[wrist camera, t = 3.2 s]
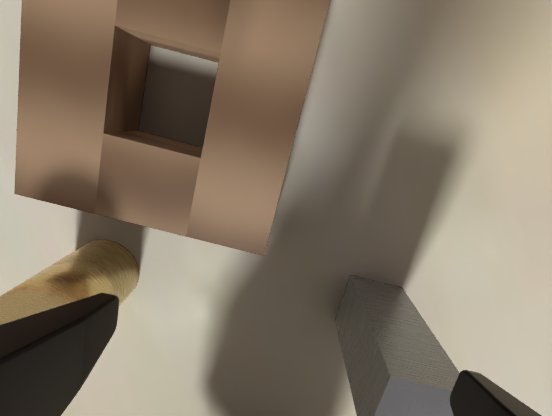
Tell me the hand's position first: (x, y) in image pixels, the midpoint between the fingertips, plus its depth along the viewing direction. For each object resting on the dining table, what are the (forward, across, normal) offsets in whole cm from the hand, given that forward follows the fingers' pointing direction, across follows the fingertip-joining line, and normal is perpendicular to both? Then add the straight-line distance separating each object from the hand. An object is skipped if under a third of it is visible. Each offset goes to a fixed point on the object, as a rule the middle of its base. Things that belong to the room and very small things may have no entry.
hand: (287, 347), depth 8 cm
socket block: (+11, +7, -6) cm, 14 cm away
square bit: (+11, -6, +4) cm, 13 cm away
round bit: (+11, +10, +5) cm, 16 cm away
